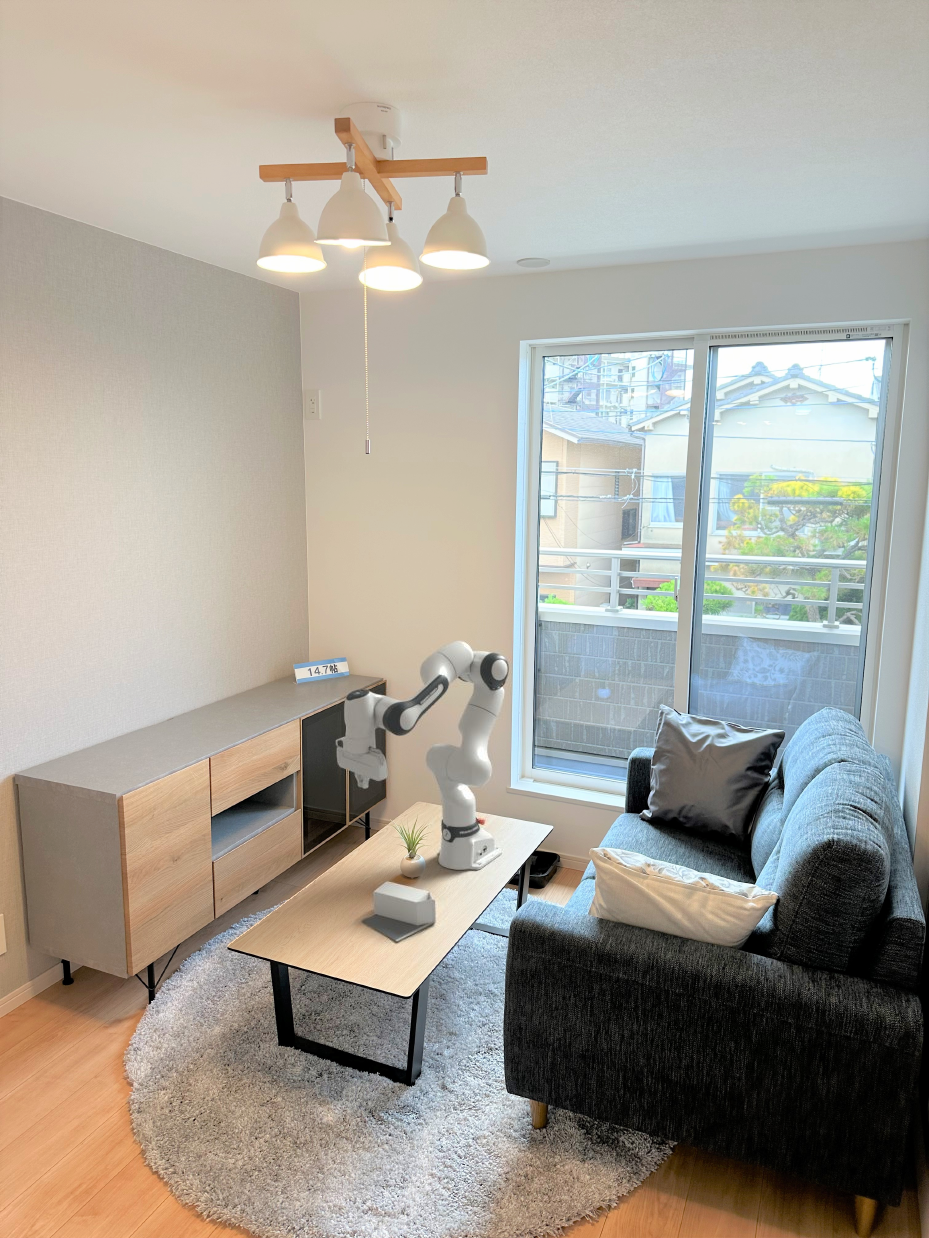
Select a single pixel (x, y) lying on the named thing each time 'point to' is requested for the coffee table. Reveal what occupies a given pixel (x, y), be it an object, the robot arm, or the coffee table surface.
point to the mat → (393, 927)
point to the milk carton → (404, 904)
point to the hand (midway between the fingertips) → (363, 787)
